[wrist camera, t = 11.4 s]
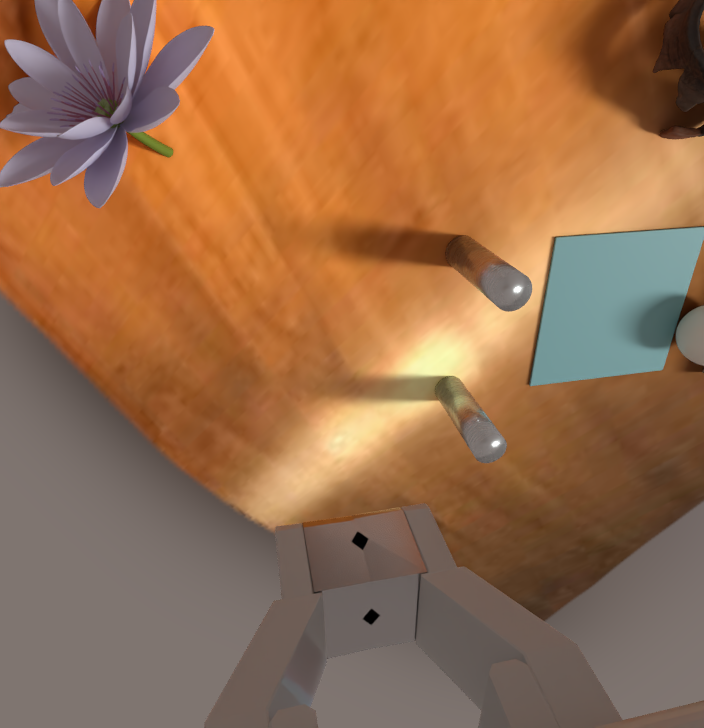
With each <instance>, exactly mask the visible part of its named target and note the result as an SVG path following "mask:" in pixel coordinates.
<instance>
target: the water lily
mask: <svg viewBox="0 0 704 728" xmlns="http://www.w3.org/2000/svg"><path fill="white" fill-rule="evenodd" d="M35 9H36V14H37V17H38V21H39V24H40V26H41V29H42V31H43V33H44V36H45V38H46V39H47V41H48V43H49V45H50V46H51V48H52V50H53V51H54V53H55V54H56V56H57V57H58V59H59V60H58V59H57V58H56V57H54V56H53V55H51V54H50V53H48V52H47V51H45V50H43V49H41V48H39V47H37V46H35V45H33V44H30V43H27V42H24V41H20V40H12V39H9V40H5V46H6V49H7V51H8V53H9V54H10V56H11V57H12V59H13V60H14V61H15V62H16V63H17V65H18V66H19V67H20V68H21V69H22V70H23V71H24V72H25V73H26V74H28V75H29V76H30V77H26V78H21V79H18V80H15V81H13V82H12V83H10V84H9V85H8V88H9V91H10V93H11V94H12V96H13V97H14V98H15V99H16V100H17V101H18V102H19V104H17V105H16V106H14V109H13V112H12V113H11V114H8V115H6V117H7V118H5V119H4V120H2V121H1V122H0V128H2V129H5V130H9V131H12V132H16V133H21V134H26V135H32V136H41V137H43V138H40V139H38V140H36V141H34V142H33V143H31V144H29V145H27V146H26V147H24V148H23V149H22V150H20V151H19V152H18V153H16V154H15V155H14V156H13V157H12V158H11V159H10V160H9V161H8V162H7V164H6V165H5V166H4V168H3V169H2V171H1V172H0V187H8V186H13V185H17V184H20V183H24V182H27V181H31V180H34V179H36V178H39V177H42V176H44V175H46V174H49V173H51V175H50V181H51V184H52V185H53V186H55V185H58V184H60V183H63V182H65V181H66V180H68V179H70V178H72V177H74V176H76V175H77V174H79V173H80V172H82V171H83V170H85V169H86V168H87V170H86V173H85V179H84V189H85V193H86V196H87V198H88V200H89V201H90V203H91V204H92V205H93V206H95V207H97V208H101V207H102V206H103V205H104V204H105V203H106V201H107V200H108V199H109V197H110V196H111V194H112V193H113V191H114V190H115V188H116V186H117V185H118V183H119V181H120V178H121V176H122V174H123V171H124V168H125V164H126V160H127V153H128V141H127V135H126V132H128V133H129V134H130V135H132V136H133V137H134V138H136V139H137V140H139V141H140V142H142V143H143V144H145V145H146V146H148V147H150V148H151V149H153V150H155V151H156V152H158V153H160V154H162V155H164V156H166V157H171V156H172V155H173V149H172V148H170V147H168V146H166V145H164V144H162V143H161V142H159V141H157V140H155V139H154V138H152V137H150V136H149V135H147V134H146V133H144V131H147V130H150V129H152V128H154V127H156V126H158V125H159V124H161V123H162V122H164V121H165V120H166V119H167V118H168V117H169V116H170V115H171V114H172V113H173V112H174V111H175V110H176V108H177V107H178V106H179V103H180V100H179V96H178V94H177V93H176V91H175V89H176V88H177V87H178V86H179V85H180V84H181V83H182V81H183V80H184V79H185V78H186V77H187V76H188V74H189V73H190V72H191V70H192V69H193V68H194V66H195V65H196V63H197V62H198V60H199V59H200V57H201V56H202V54H203V52H204V50H205V49H206V47H207V45H208V43H209V41H210V39H211V37H212V36H213V33H214V28H213V27H210V26H198V27H194V28H191V29H188V30H186V31H184V32H182V33H181V34H179V35H178V36H176V37H175V38H173V39H172V40H171V41H170V42H169V43H168V44H167V45H166V46H165V47H164V48H163V49H162V50H161V51H160V52H159V54H158V55H157V56H156V58H155V60H154V61H153V63H152V64H151V66H150V67H149V69H148V70H147V72H146V69H147V65H148V62H149V58H150V54H151V49H152V44H153V38H154V31H155V20H156V0H134V1H133V3H132V6H131V5H130V1H129V0H102V1H101V4H100V7H99V11H98V16H97V23H96V40H95V38H94V36H93V34H92V32H91V30H90V28H89V26H88V24H87V22H86V21H85V19H84V17H83V16H82V14H81V12H80V11H79V9H78V8H77V6H76V5H75V4H74V2H73V1H72V0H35ZM145 72H146V74H145ZM125 131H126V132H125Z"/></svg>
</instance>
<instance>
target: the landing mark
mask: <svg viewBox="0 0 704 728" xmlns="http://www.w3.org/2000/svg"><path fill="white" fill-rule="evenodd" d="M703 240H704V226H703V227H689V228H676V229H662V230H648V231H634V232H620V233H606V234H592V235H578V236H564V237H555V242H554V248H553V253H552V259H551V265H550V270H549V276H548V282H547V287H546V293H545V299H544V304H543V310H542V316H541V321H540V327H539V333H538V338H537V344H536V350H535V355H534V361H533V367H532V372H531V378H530V384H529V385H530V386H535V385H543V384H551V383H559V382H567V381H576V380H584V379H592V378H600V377H609V376H617V375H625V374H633V373H642V372H650V371H658V370H663V367H664V364H665V361H666V357H667V354H668V351H669V348H670V345H671V341H672V338H673V335H674V332H675V329H676V326H677V322H678V319H679V316H680V313H681V310H682V306H683V303H684V300H685V297H686V294H687V290H688V287H689V284H690V281H691V278H692V275H693V271H694V268H695V265H696V262H697V259H698V255H699V252H700V249H701V246H702V243H703Z"/></svg>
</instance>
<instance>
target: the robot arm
mask: <svg viewBox="0 0 704 728" xmlns="http://www.w3.org/2000/svg"><path fill="white" fill-rule="evenodd" d="M275 535H276V545H277V555H278V566H279V576H280V586H281V596H282V599H281V600H276V601H274V602H273V603H272V605H271V607H270V609H269V610H268V612H267V614H266V616H265V618H264V619H263V621H262V623H261V624H260V627H259V628H258V630H257V631H256V633H255V635H254V637H253V639H252V640H251V642H250V644H249V646H248V647H247V649H246V651H245V653H244V654H243V656H242V658H241V660H240V661H239V663H238V665H237V667H236V668H235V670H234V672H233V674H232V675H231V677H230V679H229V681H228V683H227V684H226V686H225V688H224V689H223V691H222V693H221V695H220V696H219V699H218V700H217V702H216V704H215V705H214V707H213V709H212V711H211V712H210V714H209V716H208V718H207V720H206V721H205V724H204V728H318V724H317V717H316V711H315V710H314V709H312V708H310V707H311V704H312V702H313V699H314V696H315V693H316V690H317V688H318V685H319V682H320V680H321V677H322V674H323V671H324V669H325V666H326V663H327V659H328V658H332V657H337V656H341V655H346V654H350V653H354V652H359V651H363V650H367V649H371V648H377V647H383V646H390V645H395V644H401V643H406V642H413V641H416V644H417V645H418V646H419V647H420V648H421V649H422V650H423V651H424V652H425V653H426V654H427V655H428V657H429V658H430V659H431V660H432V661H433V662H434V663H436V665H437V666H438V667H439V668H440V669H441V670H442V671H443V672H444V673H445V674H446V675H447V676H448V677H449V678H450V679H451V680H452V681H453V682H454V683H455V684H456V685H457V686H458V687H459V688H460V689H461V690H462V691H463V692H464V693H465V694H466V695H467V696H468V697H469V698H470V699H471V700H472V701H473V702H474V703H475V704H476V705H477V707H478V708H479V709H480V710H481V716H480V721H479V726H478V728H704V701H700V702H696V703H692V704H688V705H684V706H679V707H675V708H672V709H667V710H663V711H659V712H655V713H651V714H647V715H643V716H638V717H635V718H630V719H626V720H622V718H621V717H620V715H619V713H618V712H617V710H616V708H615V707H614V705H613V703H612V702H611V700H610V698H609V697H608V695H607V694H606V692H605V690H604V688H603V687H602V685H601V683H600V682H599V680H598V679H597V677H596V675H595V674H594V672H593V670H592V669H591V667H590V665H589V664H588V662H587V660H586V659H585V657H584V655H583V654H582V652H581V650H580V649H579V647H578V645H577V644H576V643H574V642H573V641H571V640H570V639H569V638H567V637H566V636H564V635H563V634H561V633H560V632H558V631H557V630H556V629H554V628H552V627H551V626H550V625H548V624H547V623H545V622H544V621H543V620H541V619H540V618H538V617H537V616H535V615H534V614H532V613H531V612H530V611H528V610H527V609H525V608H524V607H522V606H521V605H519V604H518V603H516V602H515V601H514V600H512V599H511V598H509V597H508V596H506V595H505V594H503V593H502V592H501V591H499V590H498V589H496V588H495V587H493V586H492V585H490V584H489V583H488V582H486V581H485V580H483V579H482V578H480V577H479V576H477V575H476V574H474V573H473V572H472V571H470V570H469V569H467V568H466V567H458V568H457V566H456V564H455V562H454V560H453V558H452V556H451V554H450V551H449V549H448V547H447V545H446V543H445V541H444V539H443V536H442V534H441V532H440V530H439V528H438V526H437V523H436V521H435V519H434V517H433V515H432V513H431V511H430V508H429V506H427V505H426V504H425V503H424V504H418V505H412V506H406V507H401V508H394V509H388V510H382V511H376V512H370V513H364V514H358V515H352V516H348V517H341V518H333V519H326V520H318V521H311V522H303V523H302V524H301V523H300V524H292V525H284V526H277V527H276V530H275Z"/></svg>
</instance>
